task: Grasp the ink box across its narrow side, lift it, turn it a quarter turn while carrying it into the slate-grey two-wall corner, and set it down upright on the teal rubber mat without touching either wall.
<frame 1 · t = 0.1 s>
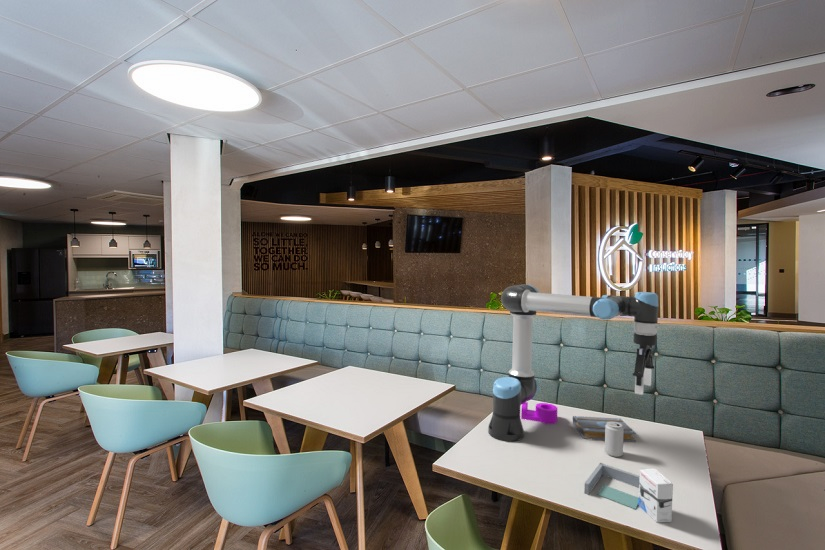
hand: (643, 389, 147), 28 cm above the table, fingers open, 13 cm apart
ink box: (654, 513, 118), on the table
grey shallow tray: (602, 433, 173), on the table
mat: (618, 497, 126), on the table
tape dispenser: (539, 419, 188), on the table
beverage can: (613, 454, 154), on the table
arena: (617, 491, 129), on the table
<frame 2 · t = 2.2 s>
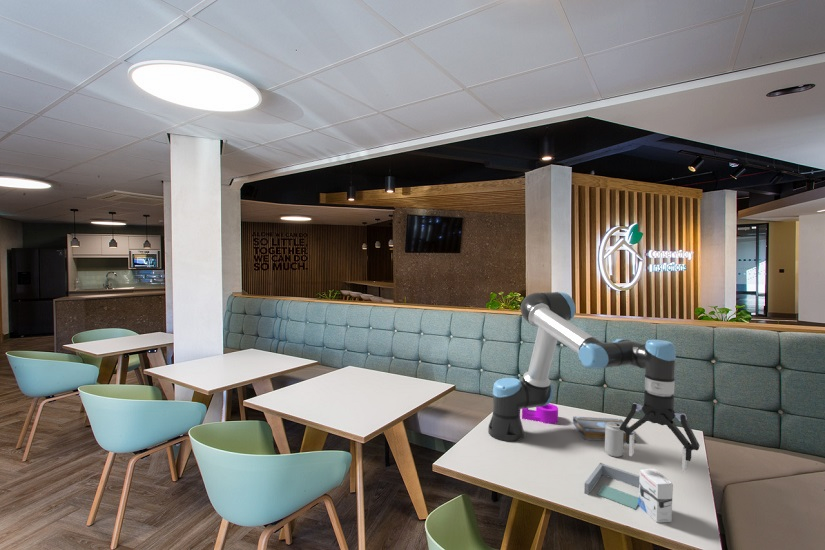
hand: (656, 462, 117), 16 cm above the table, fingers open, 13 cm apart
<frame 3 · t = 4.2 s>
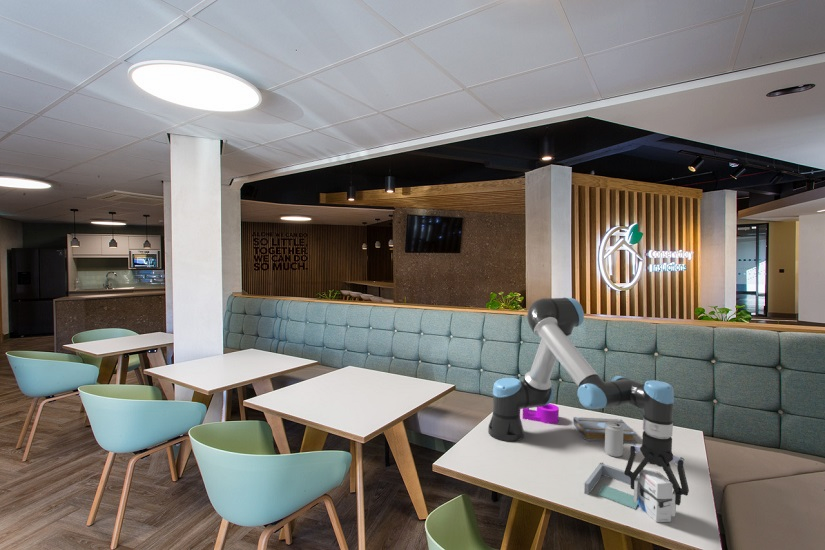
hand: (654, 506, 118), 2 cm above the table, fingers closed on ink box, 9 cm apart
ink box: (653, 513, 118), on the table, touching gripper
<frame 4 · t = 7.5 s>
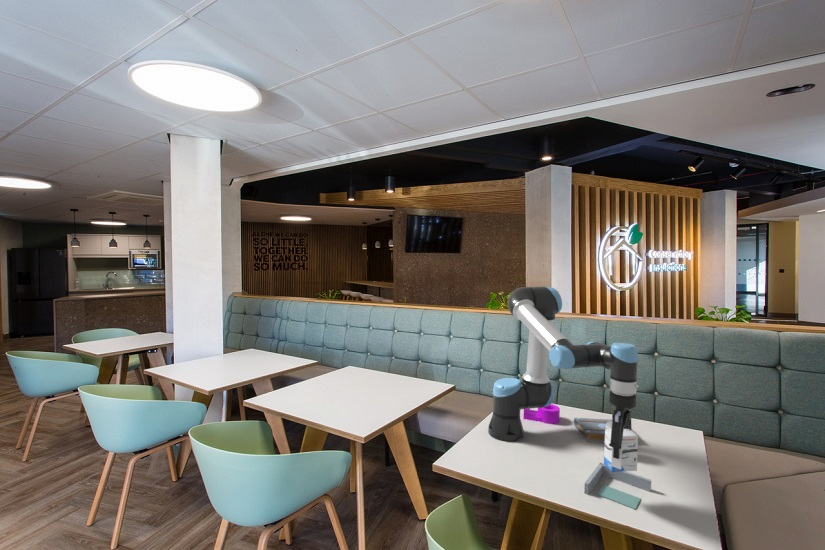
hand: (620, 461, 125), 12 cm above the table, fingers closed on ink box, 9 cm apart
ink box: (620, 468, 126), point 10 cm above the table, touching gripper
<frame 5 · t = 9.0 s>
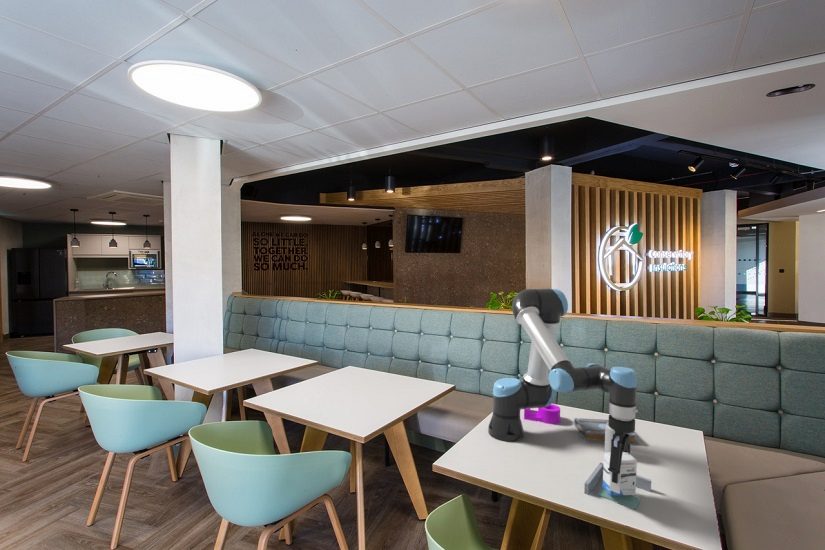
hand: (619, 484, 126), 4 cm above the table, fingers closed on ink box, 9 cm apart
ink box: (618, 491, 126), point 2 cm above the table, touching gripper
when the fingers open (4 cm above the table, at t = 9.7 s): ink box drops 2 cm, resting on mat.
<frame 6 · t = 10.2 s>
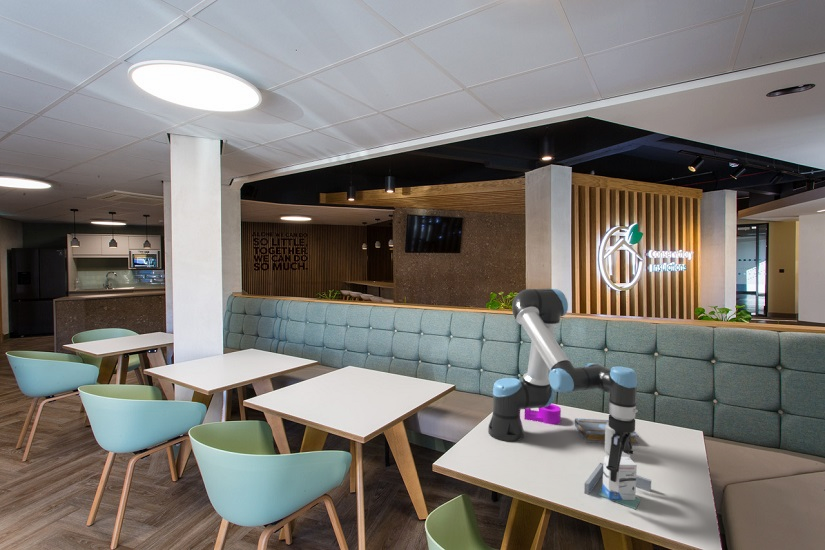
hand: (619, 481, 126), 5 cm above the table, fingers open, 13 cm apart
ink box: (618, 496, 126), resting on mat
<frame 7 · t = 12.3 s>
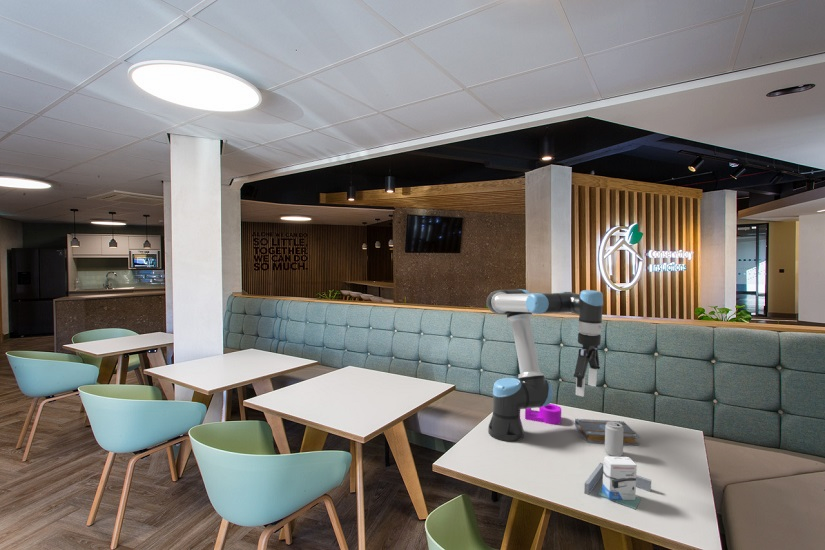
hand: (586, 390, 143), 29 cm above the table, fingers open, 13 cm apart
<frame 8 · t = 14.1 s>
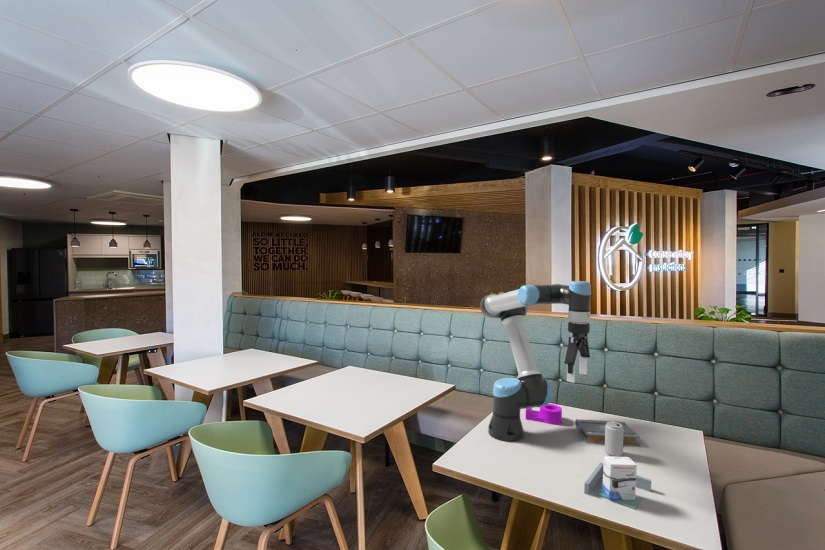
hand: (577, 377, 148), 32 cm above the table, fingers open, 13 cm apart
at the end: ink box inside the target area on the mat (0.2 cm from its centre), point 0.1 cm above the mat's base; ink box tilted 0°; ink box touching mat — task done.
